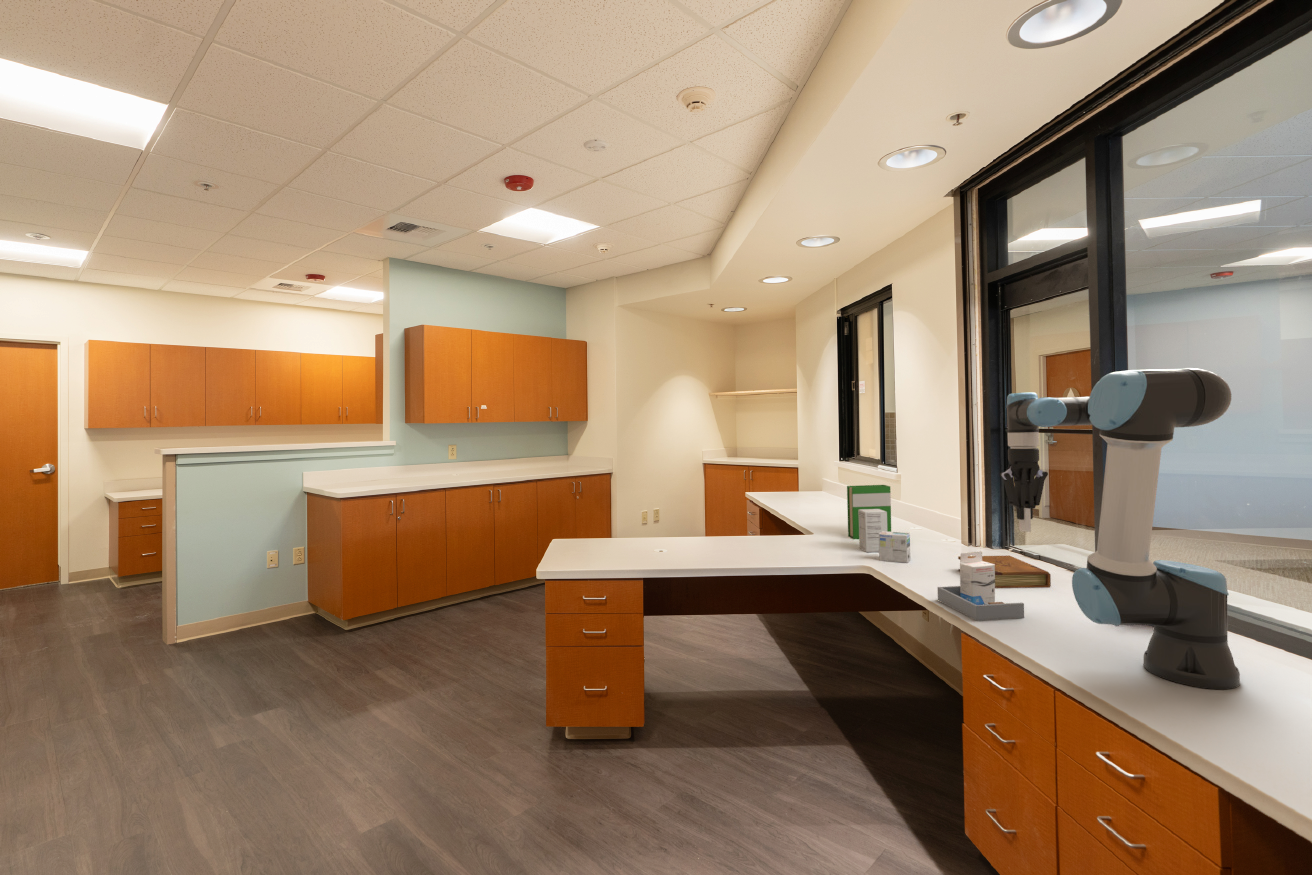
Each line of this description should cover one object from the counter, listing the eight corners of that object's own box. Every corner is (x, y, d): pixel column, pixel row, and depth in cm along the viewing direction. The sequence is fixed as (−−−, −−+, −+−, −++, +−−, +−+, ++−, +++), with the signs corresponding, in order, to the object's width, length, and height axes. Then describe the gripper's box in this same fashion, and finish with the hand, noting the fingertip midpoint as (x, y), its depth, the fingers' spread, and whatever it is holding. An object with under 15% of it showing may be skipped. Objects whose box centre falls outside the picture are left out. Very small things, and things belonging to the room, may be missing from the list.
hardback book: (853, 539, 274) (852, 487, 273) (848, 536, 281) (846, 485, 281) (891, 538, 274) (890, 486, 274) (885, 535, 282) (883, 484, 281)
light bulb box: (911, 559, 232) (910, 532, 232) (908, 563, 226) (907, 535, 226) (882, 557, 238) (881, 530, 238) (878, 560, 232) (878, 533, 232)
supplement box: (888, 552, 246) (887, 511, 246) (866, 552, 246) (865, 512, 246) (880, 547, 256) (879, 508, 255) (858, 547, 256) (857, 508, 256)
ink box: (973, 606, 173) (972, 556, 173) (959, 601, 178) (958, 553, 178) (996, 603, 176) (995, 553, 175) (982, 598, 181) (981, 550, 180)
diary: (1050, 589, 190) (1050, 571, 190) (990, 590, 191) (990, 572, 191) (1011, 570, 213) (1011, 554, 213) (958, 571, 214) (958, 555, 214)
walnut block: (1010, 614, 166) (1010, 605, 166) (997, 615, 166) (997, 606, 166) (1001, 610, 170) (1001, 601, 170) (988, 611, 170) (988, 602, 170)
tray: (1024, 617, 163) (1023, 603, 162) (976, 620, 161) (975, 606, 161) (981, 597, 181) (980, 584, 181) (937, 599, 180) (937, 586, 180)
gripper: (1035, 446, 171) (1037, 527, 172) (992, 447, 170) (994, 529, 171) (1055, 447, 164) (1056, 532, 164) (1010, 448, 163) (1012, 534, 163)
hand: (1025, 530), depth 167 cm, fingers closed
